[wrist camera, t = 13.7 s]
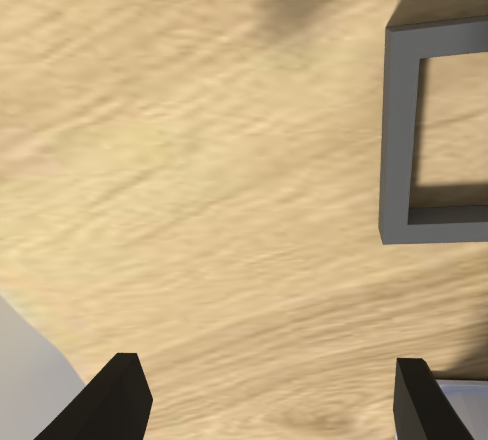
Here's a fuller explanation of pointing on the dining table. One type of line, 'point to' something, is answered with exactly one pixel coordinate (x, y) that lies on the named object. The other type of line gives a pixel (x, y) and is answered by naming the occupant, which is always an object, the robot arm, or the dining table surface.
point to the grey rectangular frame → (402, 133)
